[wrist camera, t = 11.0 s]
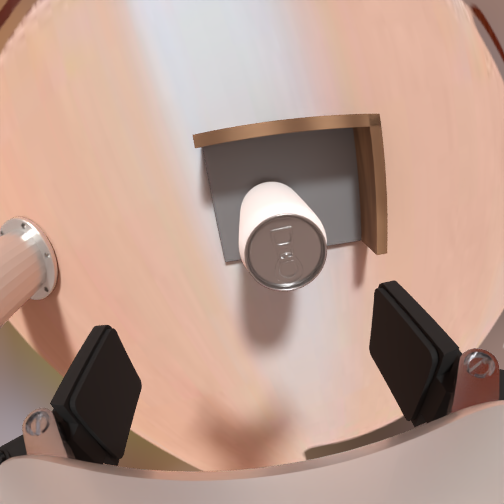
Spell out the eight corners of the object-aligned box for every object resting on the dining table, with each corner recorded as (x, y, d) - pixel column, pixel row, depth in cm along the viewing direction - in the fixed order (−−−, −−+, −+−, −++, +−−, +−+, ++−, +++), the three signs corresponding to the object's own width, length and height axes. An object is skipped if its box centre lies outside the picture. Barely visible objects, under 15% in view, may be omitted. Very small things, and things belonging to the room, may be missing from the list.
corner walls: (225, 260, 33) (222, 280, 28) (201, 135, 28) (192, 134, 23) (369, 237, 32) (387, 253, 28) (359, 116, 27) (379, 113, 22)
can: (247, 245, 32) (250, 305, 21) (233, 188, 29) (226, 219, 18) (305, 232, 31) (337, 285, 20) (295, 175, 29) (326, 198, 18)
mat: (225, 260, 33) (225, 261, 32) (201, 135, 28) (200, 135, 27) (369, 237, 32) (370, 238, 32) (359, 116, 27) (361, 116, 27)
